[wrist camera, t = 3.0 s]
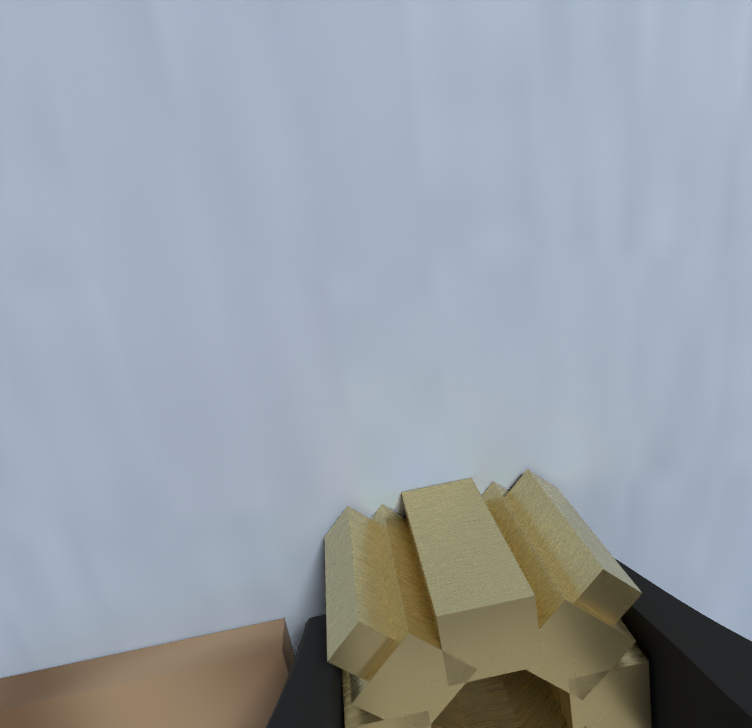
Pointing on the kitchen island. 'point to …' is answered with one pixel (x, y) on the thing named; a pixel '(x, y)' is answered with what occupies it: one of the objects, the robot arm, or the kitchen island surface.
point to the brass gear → (481, 614)
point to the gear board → (160, 685)
